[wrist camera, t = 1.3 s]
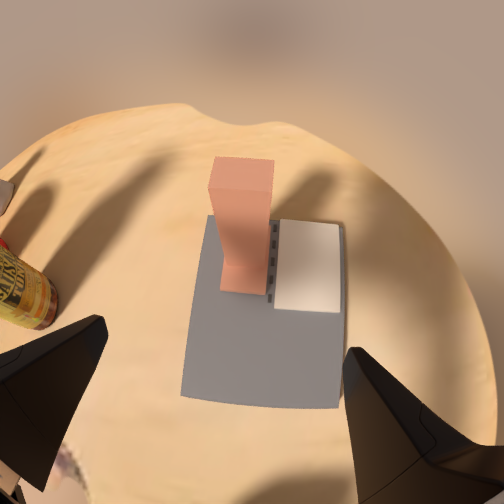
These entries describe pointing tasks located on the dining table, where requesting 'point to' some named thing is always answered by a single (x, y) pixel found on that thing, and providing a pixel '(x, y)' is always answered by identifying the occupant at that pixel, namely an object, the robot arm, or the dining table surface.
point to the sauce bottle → (25, 293)
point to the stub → (243, 220)
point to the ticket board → (271, 323)
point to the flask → (5, 194)
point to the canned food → (3, 244)
